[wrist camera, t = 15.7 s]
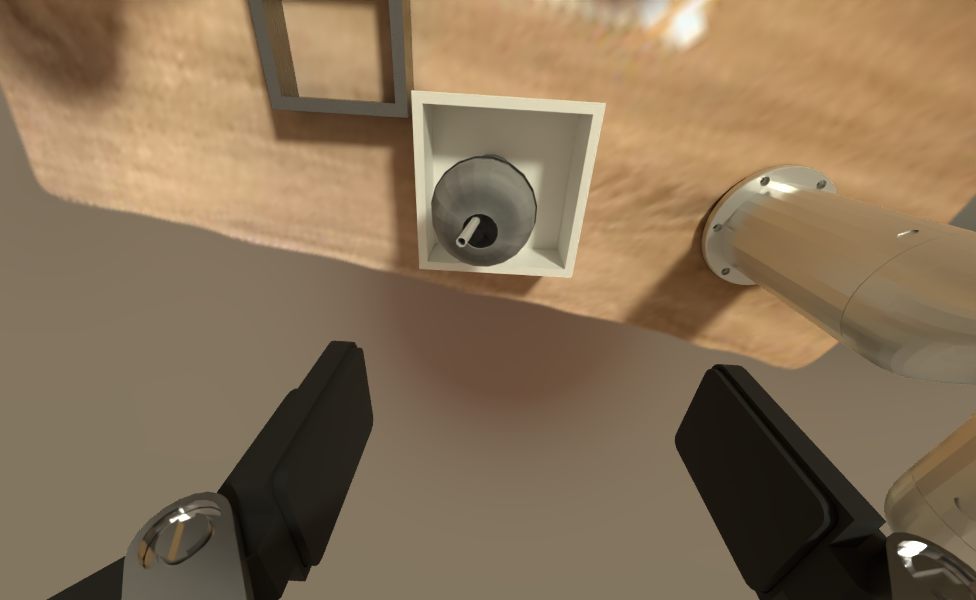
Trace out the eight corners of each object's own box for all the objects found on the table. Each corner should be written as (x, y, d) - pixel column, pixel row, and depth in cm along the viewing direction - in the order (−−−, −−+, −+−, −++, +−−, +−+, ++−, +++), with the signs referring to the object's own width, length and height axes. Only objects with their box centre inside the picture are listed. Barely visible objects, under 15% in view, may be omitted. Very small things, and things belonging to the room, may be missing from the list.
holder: (407, -53, 26) (398, -70, 24) (414, 116, 32) (407, 118, 29) (256, -64, 26) (229, -82, 24) (290, 108, 32) (272, 109, 29)
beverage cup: (474, 227, 36) (444, 345, 19) (439, 160, 33) (365, 227, 16) (539, 197, 34) (572, 297, 17) (509, 122, 31) (512, 153, 14)
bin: (587, 102, 31) (606, 103, 26) (561, 253, 39) (571, 277, 33) (425, 92, 31) (411, 90, 26) (429, 246, 38) (419, 269, 33)
